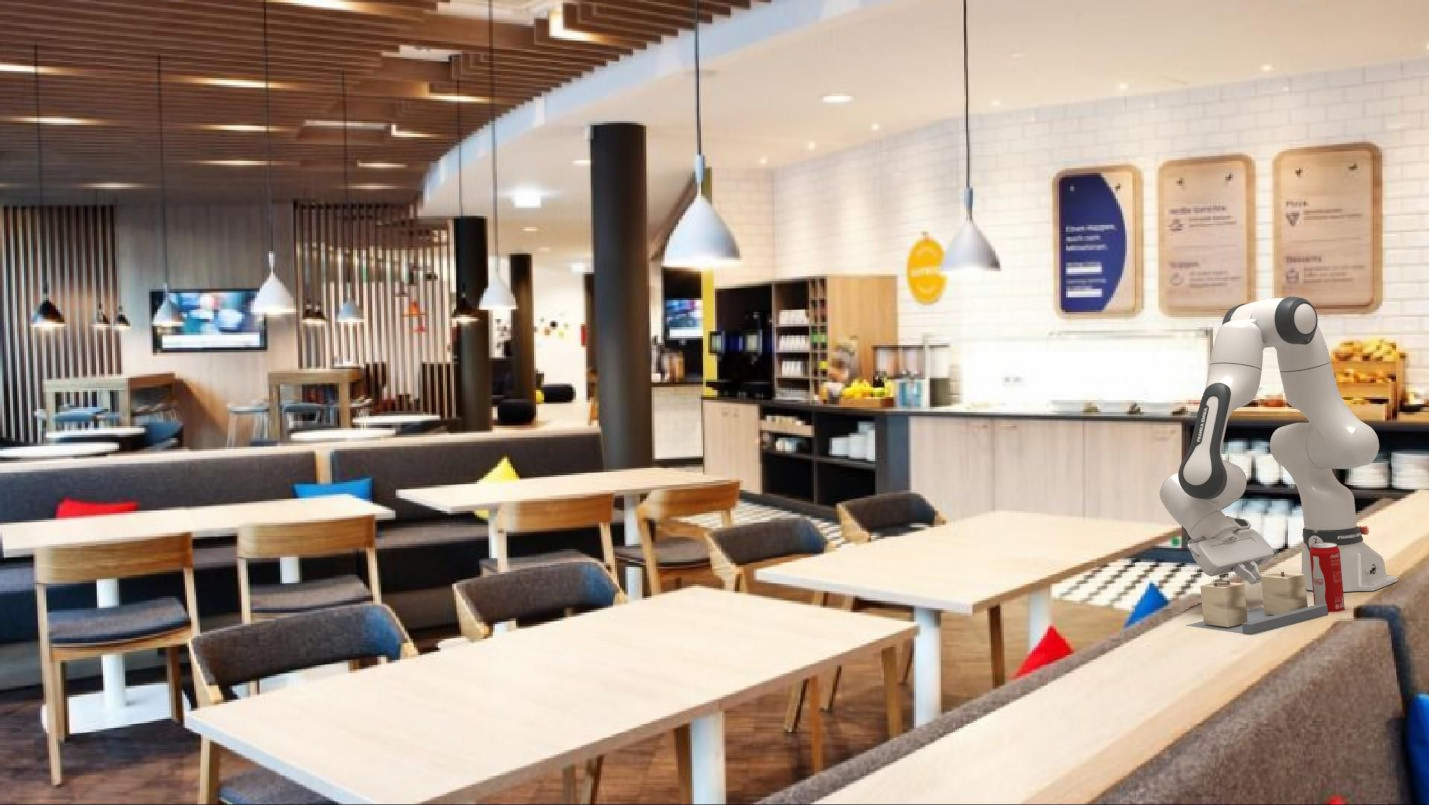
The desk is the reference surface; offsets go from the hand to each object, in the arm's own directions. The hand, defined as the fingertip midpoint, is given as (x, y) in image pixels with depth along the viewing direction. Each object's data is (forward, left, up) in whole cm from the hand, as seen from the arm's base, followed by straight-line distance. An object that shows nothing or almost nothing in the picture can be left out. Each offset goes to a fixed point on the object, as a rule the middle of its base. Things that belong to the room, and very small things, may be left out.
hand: (1257, 581), depth 262 cm
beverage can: (-9, +10, -8) cm, 15 cm away
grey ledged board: (+8, +5, -7) cm, 12 cm away
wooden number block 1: (0, +6, -6) cm, 9 cm away
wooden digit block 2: (+15, +3, -6) cm, 17 cm away
